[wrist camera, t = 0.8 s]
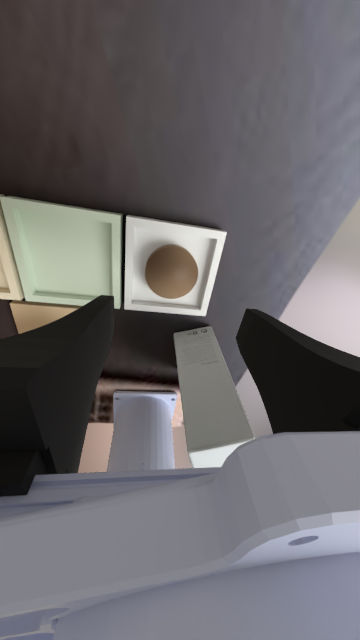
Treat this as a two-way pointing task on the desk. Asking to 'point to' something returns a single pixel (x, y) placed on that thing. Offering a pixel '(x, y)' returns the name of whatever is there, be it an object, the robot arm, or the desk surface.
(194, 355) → the skincare box
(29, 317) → the cork pad
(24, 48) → the desk surface
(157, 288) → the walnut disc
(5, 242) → the tray sand
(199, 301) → the tray white
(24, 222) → the tray sage
